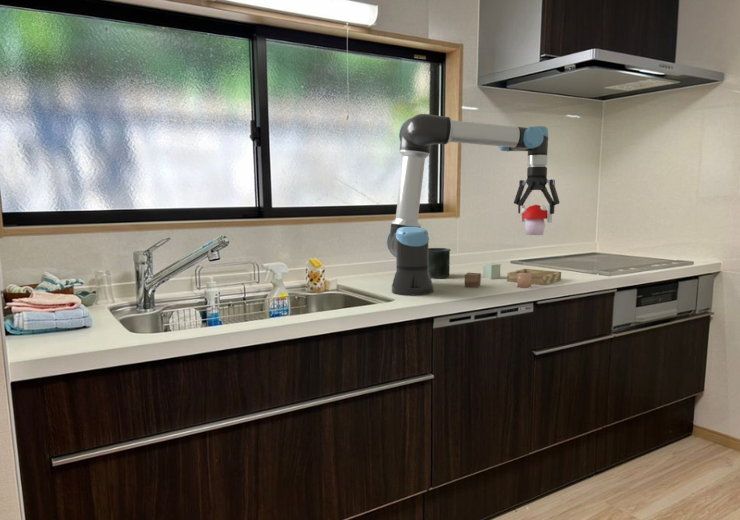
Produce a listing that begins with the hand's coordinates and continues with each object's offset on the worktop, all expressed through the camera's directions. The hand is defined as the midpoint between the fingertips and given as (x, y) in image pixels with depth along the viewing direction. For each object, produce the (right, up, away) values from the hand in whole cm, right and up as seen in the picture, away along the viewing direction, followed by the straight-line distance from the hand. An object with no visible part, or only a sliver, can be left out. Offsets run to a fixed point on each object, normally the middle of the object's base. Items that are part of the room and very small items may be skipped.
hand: (535, 222), depth 218 cm
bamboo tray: (0, -24, +3) cm, 24 cm away
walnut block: (-27, -26, -9) cm, 38 cm away
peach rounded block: (-8, -26, -11) cm, 29 cm away
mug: (-38, -23, +16) cm, 47 cm away
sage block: (-15, -23, +11) cm, 30 cm away
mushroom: (0, -5, +1) cm, 5 cm away
